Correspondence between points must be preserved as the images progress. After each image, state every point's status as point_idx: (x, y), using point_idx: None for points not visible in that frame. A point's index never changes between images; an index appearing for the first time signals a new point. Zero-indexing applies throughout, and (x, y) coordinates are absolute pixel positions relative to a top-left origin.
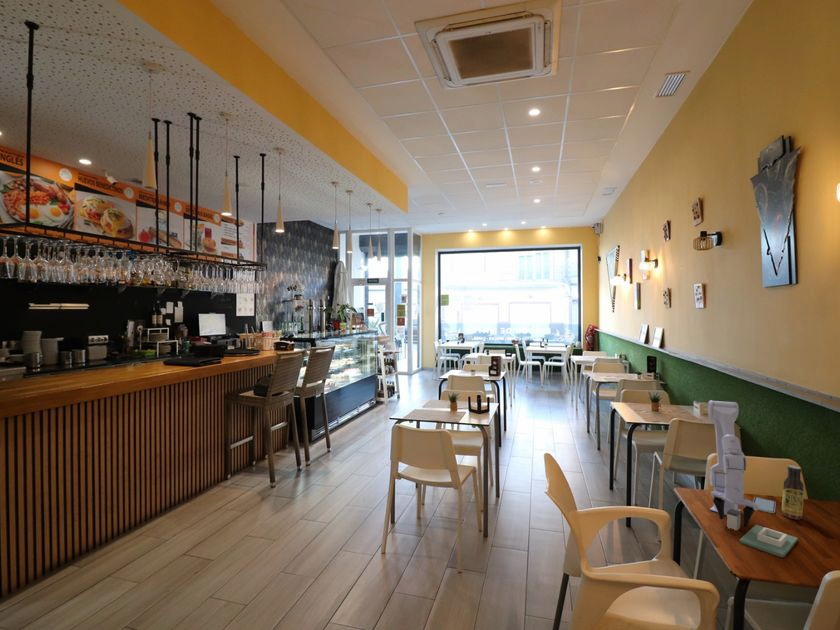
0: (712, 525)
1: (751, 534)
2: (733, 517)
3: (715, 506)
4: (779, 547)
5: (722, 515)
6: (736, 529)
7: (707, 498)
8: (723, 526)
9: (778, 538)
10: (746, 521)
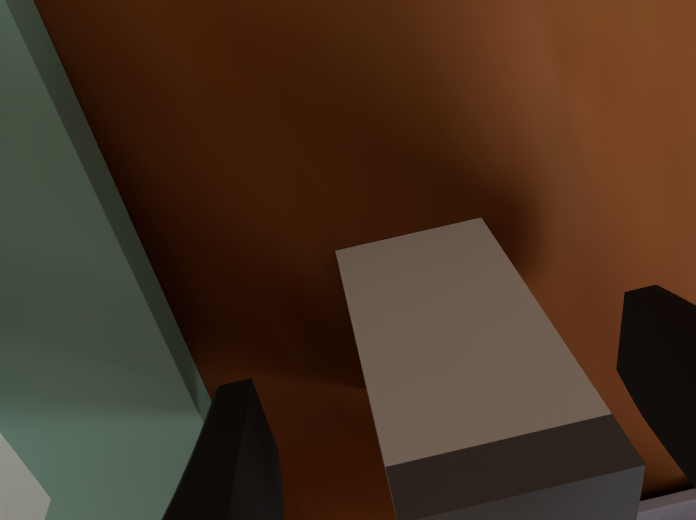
0: (687, 49)
1: (49, 283)
2: (447, 413)
3: None
4: None
5: (663, 370)
6: (339, 264)
7: None
8: (535, 203)
9: None
10: (183, 489)
